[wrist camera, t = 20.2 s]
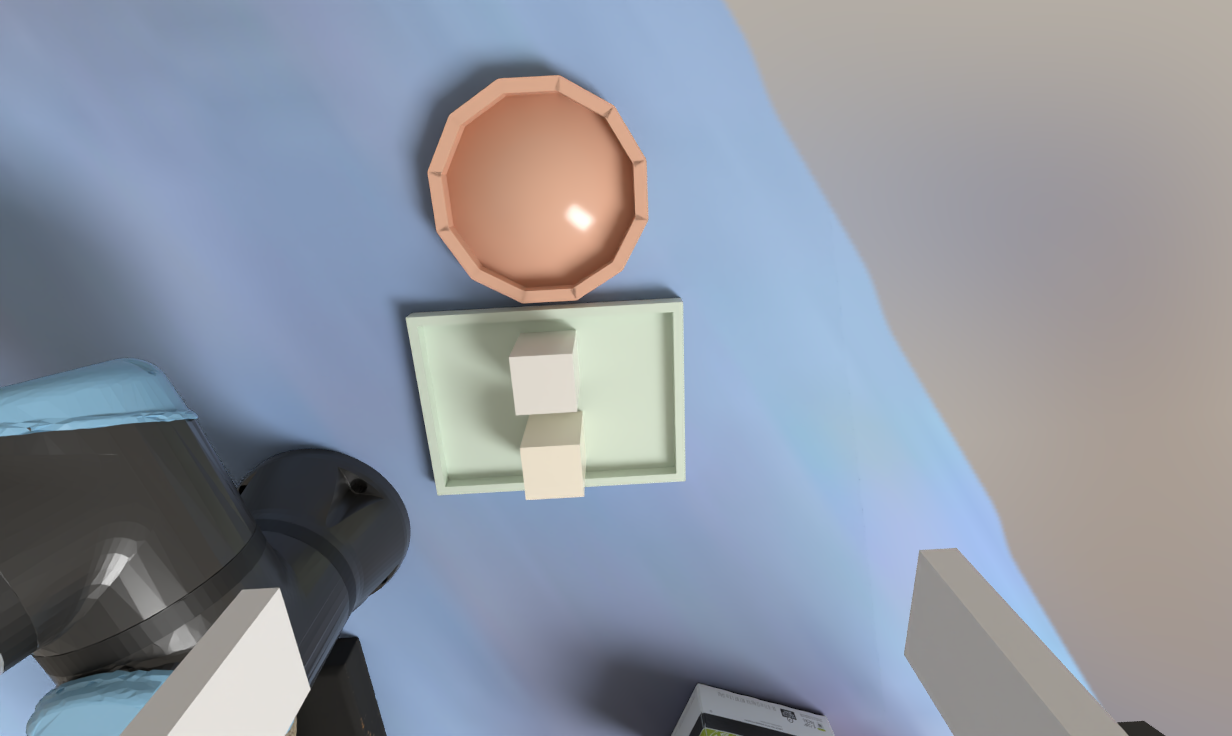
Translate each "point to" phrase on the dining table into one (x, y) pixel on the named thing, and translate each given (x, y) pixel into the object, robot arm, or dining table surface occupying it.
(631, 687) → the dining table surface
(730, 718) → the tea box
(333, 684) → the coral
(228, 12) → the dining table surface
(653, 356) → the parts tray
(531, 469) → the cream rectangular block
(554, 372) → the pale grey block
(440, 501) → the dining table surface
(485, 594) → the dining table surface
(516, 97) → the bowl
